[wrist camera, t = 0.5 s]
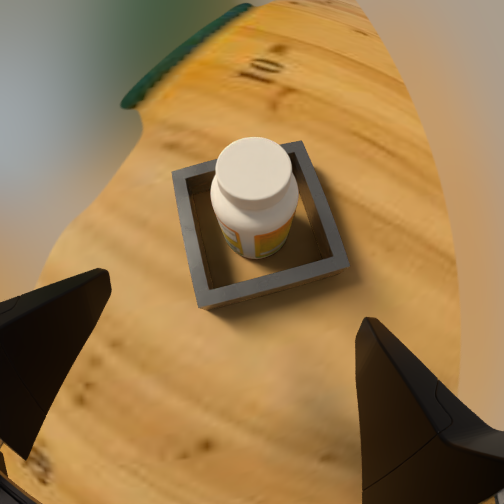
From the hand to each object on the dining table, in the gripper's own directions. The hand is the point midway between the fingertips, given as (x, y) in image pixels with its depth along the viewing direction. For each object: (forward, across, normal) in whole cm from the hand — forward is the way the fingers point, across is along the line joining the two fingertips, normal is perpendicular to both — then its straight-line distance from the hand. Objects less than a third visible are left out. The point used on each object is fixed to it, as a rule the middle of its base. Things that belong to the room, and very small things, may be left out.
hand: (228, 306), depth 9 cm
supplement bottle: (+15, 0, +3) cm, 15 cm away
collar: (+15, 0, +3) cm, 15 cm away
